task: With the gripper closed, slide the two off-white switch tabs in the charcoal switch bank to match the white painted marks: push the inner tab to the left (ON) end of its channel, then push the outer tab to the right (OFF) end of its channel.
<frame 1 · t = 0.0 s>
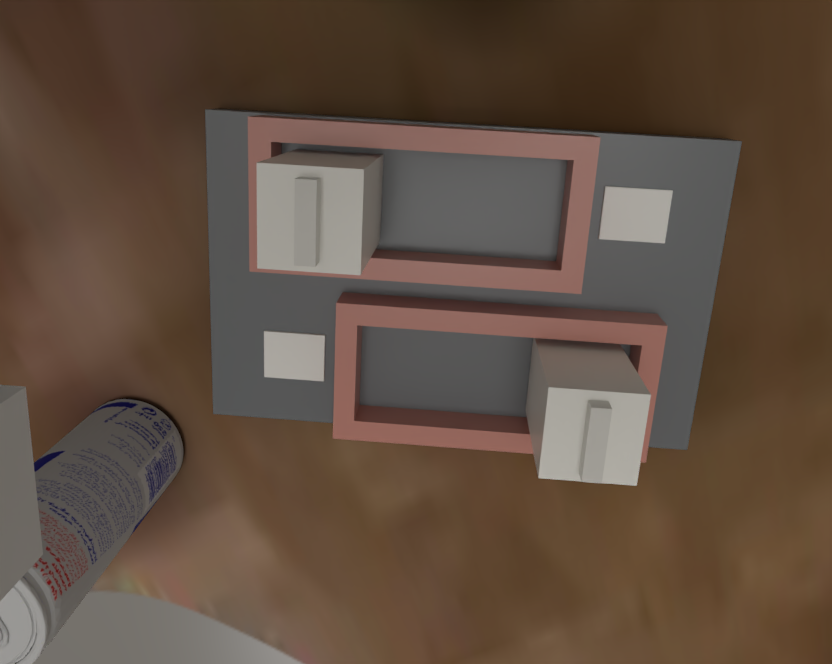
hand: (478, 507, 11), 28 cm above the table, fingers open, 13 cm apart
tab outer: (582, 407, 34), point 6 cm above the table, slide at 3.8 cm
beverage can: (138, 440, 43), on the table
tab inner: (323, 208, 32), point 6 cm above the table, slide at -3.8 cm
switch bank: (458, 278, 39), on the table
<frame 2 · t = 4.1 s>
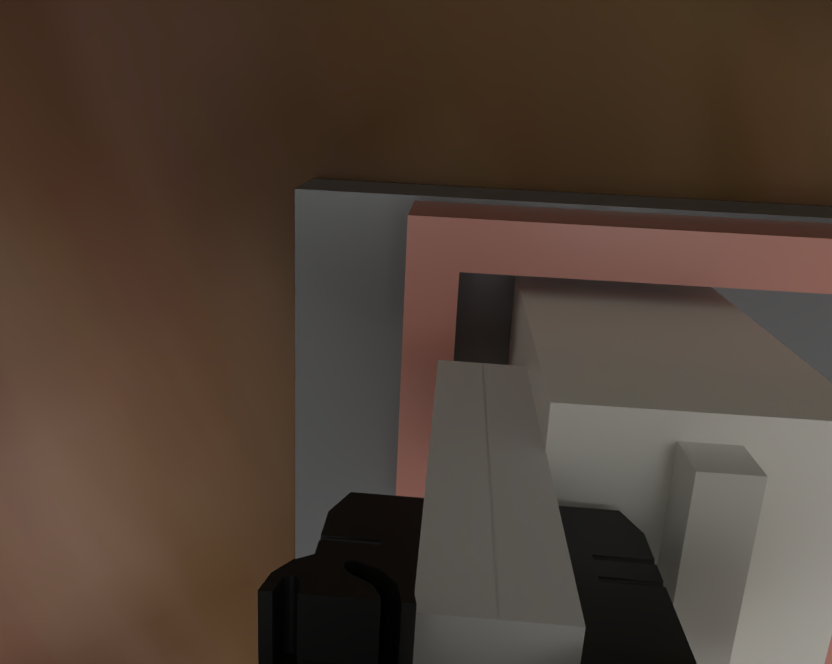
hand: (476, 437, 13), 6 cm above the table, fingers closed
tab inner: (639, 449, 13), point 6 cm above the table, slide at -3.3 cm, touching gripper
switch bank: (778, 502, 20), on the table
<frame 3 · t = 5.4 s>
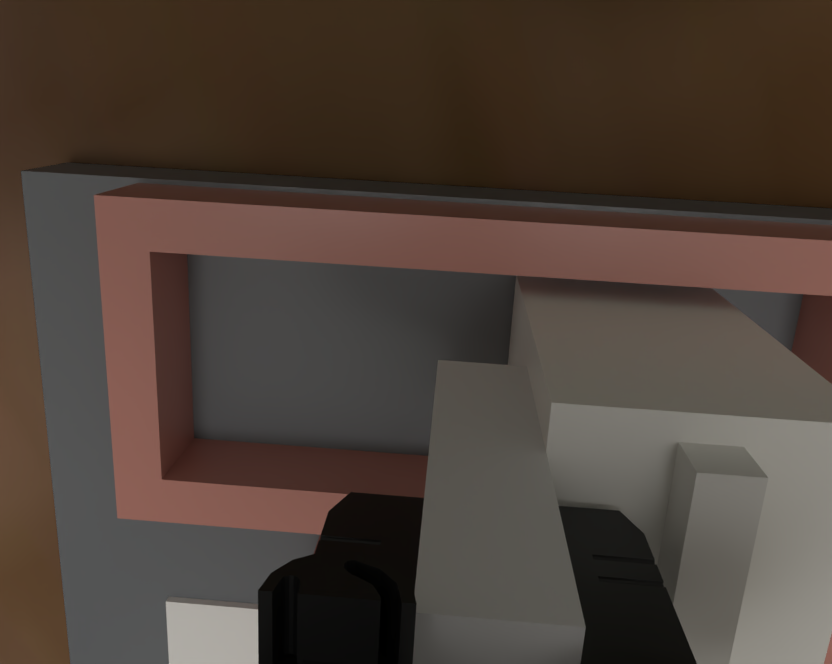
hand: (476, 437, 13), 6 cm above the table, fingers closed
tab inner: (639, 450, 13), point 6 cm above the table, slide at 2.5 cm, touching gripper
switch bank: (546, 485, 20), on the table
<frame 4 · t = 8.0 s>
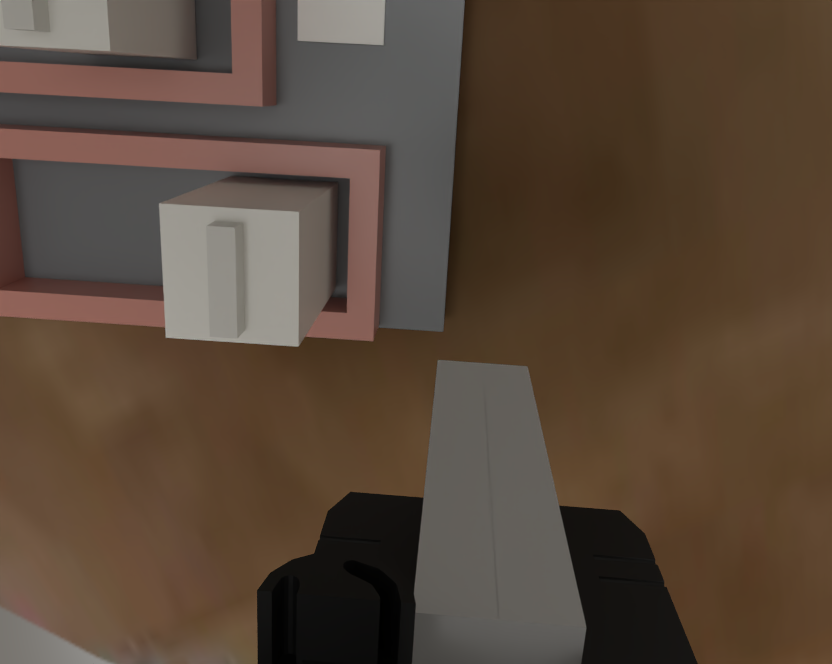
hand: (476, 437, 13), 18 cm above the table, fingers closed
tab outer: (257, 254, 25), point 6 cm above the table, slide at 3.8 cm
switch bank: (148, 112, 30), on the table
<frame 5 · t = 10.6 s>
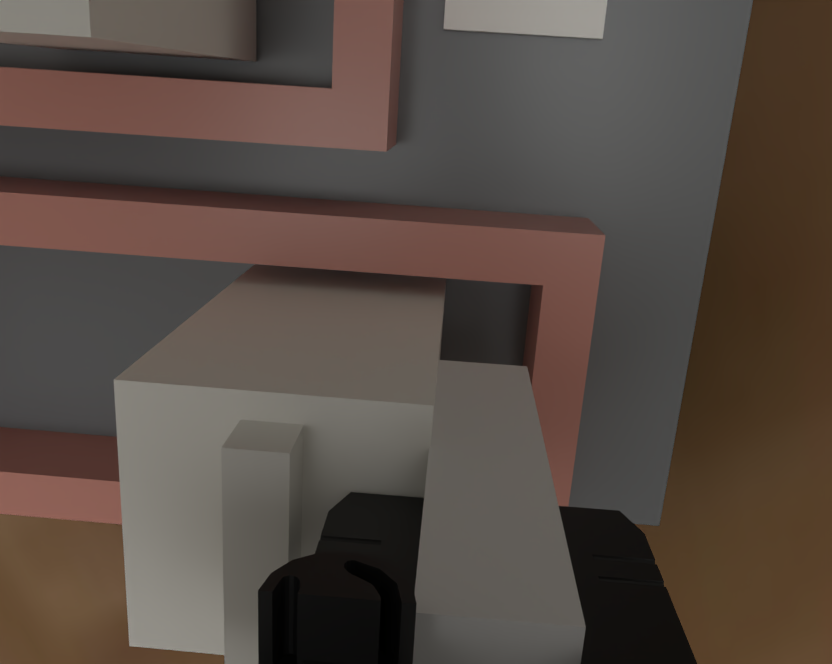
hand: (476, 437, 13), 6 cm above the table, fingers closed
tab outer: (315, 434, 13), point 6 cm above the table, slide at 2.7 cm, touching gripper
switch bank: (164, 149, 18), on the table
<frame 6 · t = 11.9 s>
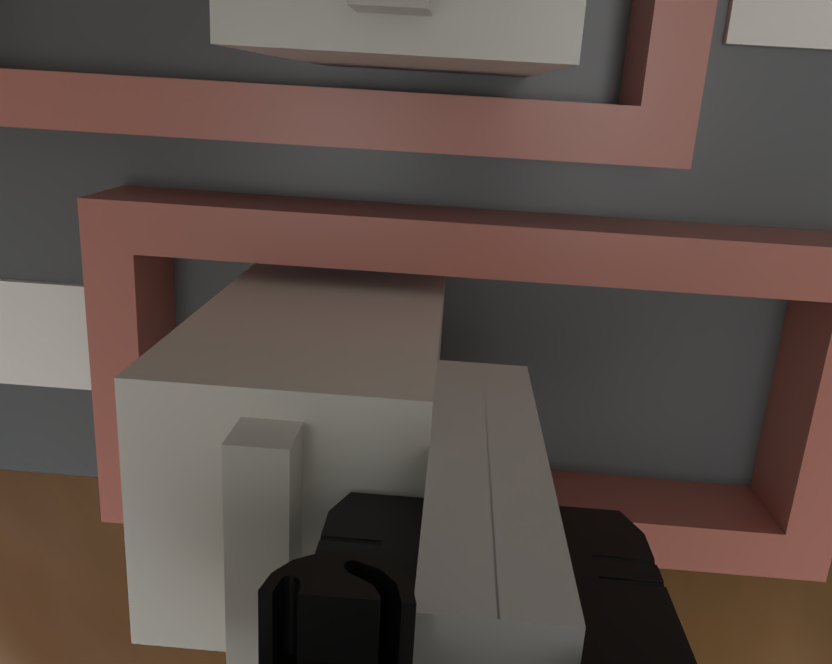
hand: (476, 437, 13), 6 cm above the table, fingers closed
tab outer: (315, 432, 13), point 6 cm above the table, slide at -2.6 cm, touching gripper
switch bank: (394, 164, 18), on the table
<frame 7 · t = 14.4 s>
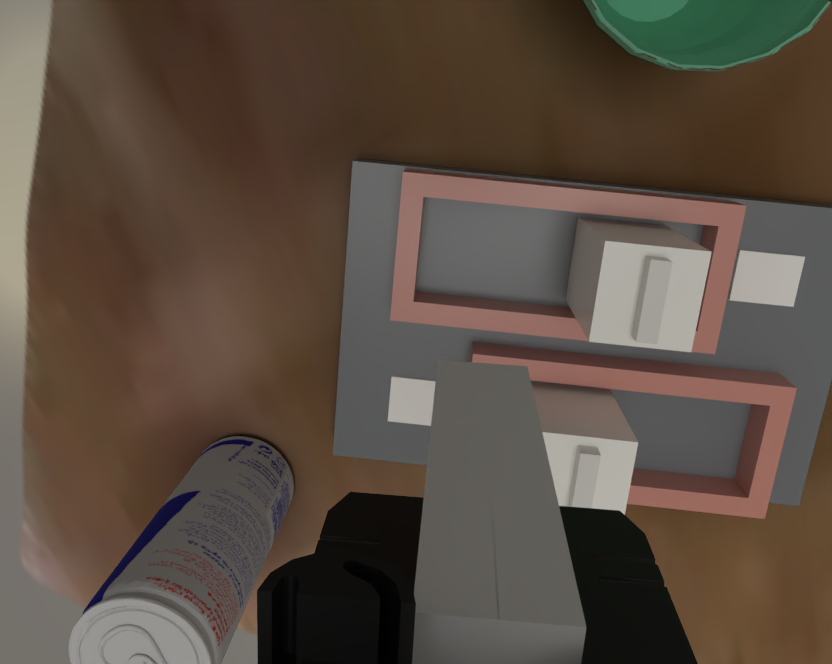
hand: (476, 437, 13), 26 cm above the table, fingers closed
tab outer: (571, 449, 35), point 6 cm above the table, slide at -2.7 cm
beverage can: (247, 477, 43), on the table
tab inner: (631, 280, 33), point 6 cm above the table, slide at 2.7 cm
switch bank: (580, 330, 39), on the table
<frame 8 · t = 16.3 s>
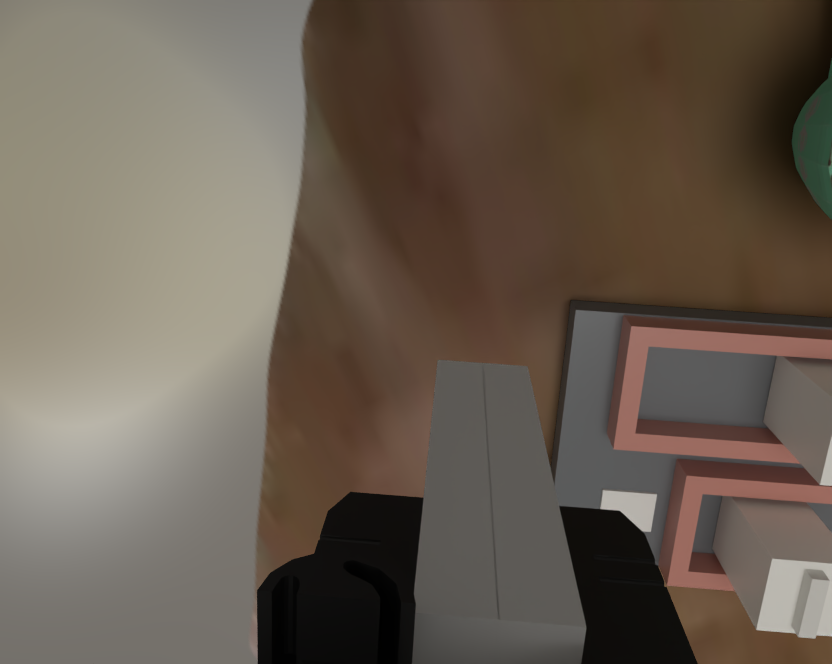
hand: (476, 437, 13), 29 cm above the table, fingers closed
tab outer: (781, 560, 40), point 6 cm above the table, slide at -2.7 cm
switch bank: (766, 440, 44), on the table
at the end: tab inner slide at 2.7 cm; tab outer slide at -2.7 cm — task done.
